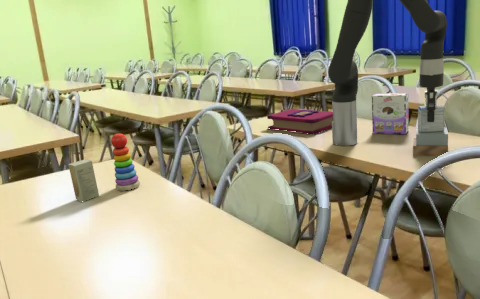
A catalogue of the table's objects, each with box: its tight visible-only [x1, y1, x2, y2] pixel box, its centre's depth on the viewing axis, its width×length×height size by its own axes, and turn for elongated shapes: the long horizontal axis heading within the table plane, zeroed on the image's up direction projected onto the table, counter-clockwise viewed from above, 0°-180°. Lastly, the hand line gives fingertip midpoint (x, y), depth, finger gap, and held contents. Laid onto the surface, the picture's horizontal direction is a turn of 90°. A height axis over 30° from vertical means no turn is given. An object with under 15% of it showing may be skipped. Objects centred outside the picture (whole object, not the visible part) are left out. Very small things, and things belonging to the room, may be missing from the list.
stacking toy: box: [110, 133, 141, 192], centre depth 147 cm, size 8×8×19 cm
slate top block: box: [415, 126, 449, 147], centre depth 157 cm, size 10×10×4 cm
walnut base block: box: [412, 137, 449, 157], centre depth 158 cm, size 11×11×4 cm
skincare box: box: [68, 158, 100, 203], centre depth 141 cm, size 6×4×12 cm
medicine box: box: [417, 104, 446, 132], centre depth 155 cm, size 8×4×9 cm, turn 81°
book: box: [266, 108, 333, 135], centre depth 213 cm, size 21×28×8 cm
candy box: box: [371, 92, 409, 135], centre depth 187 cm, size 14×6×16 cm, turn 58°
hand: (430, 119), depth 155 cm, fingers open, 8 cm apart
